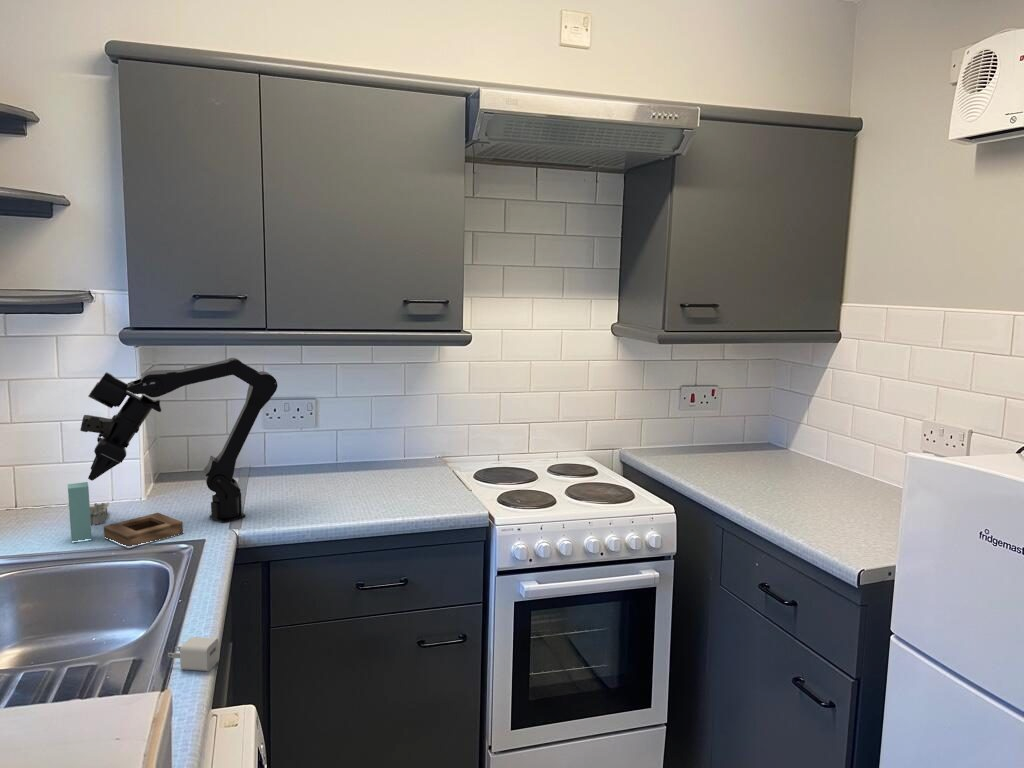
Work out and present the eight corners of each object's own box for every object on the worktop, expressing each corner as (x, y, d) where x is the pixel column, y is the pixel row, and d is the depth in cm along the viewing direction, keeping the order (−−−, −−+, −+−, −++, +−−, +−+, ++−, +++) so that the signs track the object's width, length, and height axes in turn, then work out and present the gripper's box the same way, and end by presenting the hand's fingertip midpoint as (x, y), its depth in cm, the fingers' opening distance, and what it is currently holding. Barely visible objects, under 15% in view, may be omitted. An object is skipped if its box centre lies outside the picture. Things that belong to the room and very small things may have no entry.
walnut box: (158, 524, 181) (158, 512, 181) (183, 533, 175) (182, 521, 175) (104, 538, 171) (103, 526, 170) (128, 549, 165) (127, 536, 164)
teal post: (90, 535, 173) (87, 481, 171) (91, 540, 169) (88, 486, 168) (71, 538, 171) (67, 484, 169) (71, 543, 167) (68, 488, 166)
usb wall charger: (207, 673, 115) (206, 649, 114) (165, 670, 115) (163, 646, 115) (219, 660, 119) (218, 636, 118) (178, 657, 119) (177, 634, 119)
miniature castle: (78, 515, 188) (77, 499, 187) (111, 512, 190) (110, 497, 190) (69, 528, 178) (68, 512, 177) (104, 525, 180) (103, 509, 180)
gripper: (98, 395, 179) (60, 449, 177) (94, 407, 162) (52, 468, 160) (142, 417, 184) (105, 471, 182) (142, 432, 167) (102, 491, 165)
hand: (91, 474), depth 172 cm, fingers open, 9 cm apart
